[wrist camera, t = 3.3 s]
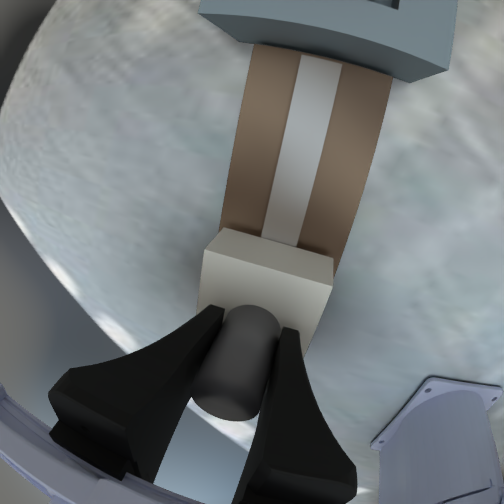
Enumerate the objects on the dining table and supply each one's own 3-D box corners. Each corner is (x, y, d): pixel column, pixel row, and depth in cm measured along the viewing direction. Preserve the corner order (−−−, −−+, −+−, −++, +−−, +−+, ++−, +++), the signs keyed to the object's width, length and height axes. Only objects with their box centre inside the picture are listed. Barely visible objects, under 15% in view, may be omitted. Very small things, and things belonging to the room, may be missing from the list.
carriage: (296, 354, 16) (274, 456, 11) (208, 327, 17) (157, 417, 11) (333, 258, 13) (329, 362, 8) (223, 227, 14) (153, 308, 8)
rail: (301, 350, 19) (294, 391, 16) (209, 322, 19) (188, 358, 16) (388, 79, 11) (406, 69, 8) (259, 48, 12) (239, 30, 9)
